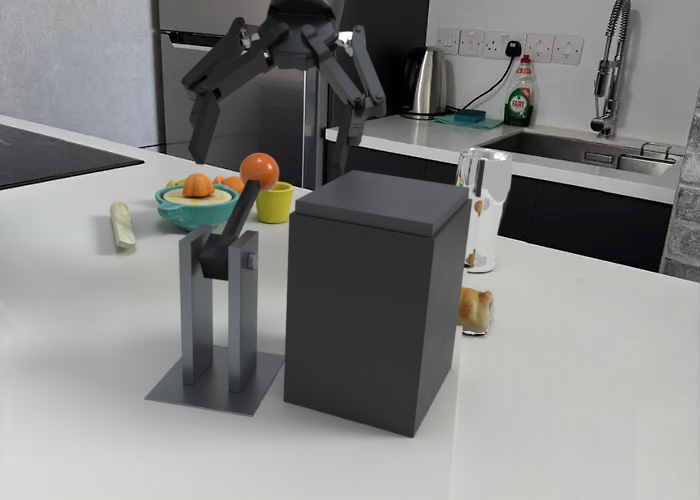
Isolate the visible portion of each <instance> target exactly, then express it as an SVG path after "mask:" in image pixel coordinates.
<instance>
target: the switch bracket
mask: <svg viewBox="0 0 700 500" xmlns="http://www.w3.org/2000/svg"><path fill="white" fill-rule="evenodd" d="M210 233H213V229H212V226H210V225H200V226H198V227H197V228H196V229H194V230H193V231H189V233H188V234H185V235H184V237H182V238H180V239H179V240H178V262H179V263H178V265H179V266H178V267H179V302H180V336H181V337H180V338H181V339H180V340H181V356H180V357H179V358H178V360H177V361H176V362H175V363H174V364H173V365H172V367H171V368H169V370H168V371H167V372H166V374H164V376H163V377H162V378H161V379H160V380H159V381H158V382H157V383H156V384H155V386H154V387H153V388H152V389H151V390H150V391H149V393H148V394H147V395H146V396H145V397H144V400H145V401H151V402H157V403H163V404H170V405H175V406H182V407H186V408H187V407H188V408H193V409H194V408H195V409H199V410H204V411H205V410H206V411H213V412H218V413H224V414H229V415H235V416H241V417H248V418H253V417H254V415H255V413H256V412H257V410H258V409H259V406H260V405H261V403H262V401H263V400H264V398H265V396H266V395H267V393H268V391H269V389H270V388H271V386H272V385H273V382H274V380H275V379H276V378H277V376H278V374H279V372H280V370H281V368H282V367H283V365H284V364H285V354H278V353H271V352H270V353H269V352H265V351H258V300H259V299H258V297H259V292H258V291H259V287H258V286H259V235H260V234H259V231H258V230H251V229H247V230H245V231H244V232H243V233H242V234H240V235H239V237H238V239H237V240H236V241H235V242H233V243H232V244H231V245H230V246H229V247H228V281H227V282H228V284H227V285H228V287H227V288H228V289H227V292H228V295H227V298H228V299H227V301H228V303H227V304H228V305H227V307H228V308H227V311H228V312H227V315H228V319H227V320H228V321H227V324H228V327H227V329H228V334H227V335H228V336H227V337H228V345H227V346H226V345H225V346H224V345H217V344H216V345H215V344H214V309H213V308H214V302H213V301H214V300H213V298H214V297H213V296H214V291H213V290H214V288H213V279H208V278H204V277H203V273H202V269H201V265H200V262H199V258H198V257H199V255H200V253H201V251H202V249H203V247H204V245H205V243H206V241H207V239H208V237H209V235H210Z"/></svg>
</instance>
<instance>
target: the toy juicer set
mask: <svg viewBox="0 0 700 500" xmlns="http://www.w3.org/2000/svg"><path fill="white" fill-rule="evenodd" d="M243 188H244V184H243V183H242V181H241V178H240V176H235V175H234V176H228V177H226V178H225V177H224V176H222V175H219V174H218V175H217V176H216V177H215V178H214V179H213V181H212V180H211V178H210V177H208V176H207V175H206V174H203V173H198V172H197V173H196V172H195V173H192V174H190V175H187V177H186V178H183V179H180V180H177V181H174V180H173V179H170V180H169V181H168V182H167V184H166V185H165V187H164V188H161V189H159V190H157V191H156V192H155V194H154V198H155V200H156V201H157V203H158V206H157V211H158V214H159V216H160V217H161V218H162V219H165V220H169V221H170V222H172V223H174V224H175V225H177V227H178V228H179V229H181V230H184V231H188V232H191V231H193V230H194V229H196V228H197V227H198V226H200V225H210V226H212V230H214V229H216V228H217V227H218V226H219V225H220V224H223V223H224V222H225V221H226V220H228V219H229V217H230V215H231V213H232V211H233V209H234V207H235V205H236V203H237V201H238V199H239V197H240V195H241V193H242V191H243ZM294 190H295V187H294V186H293V184H290V183H288V182H283V181H277V183H276V185H275V186H274V187H273V188H272V189H270V190H269V191H266V192H262V193H258V195H257V198H256V200H255V208H256V214H257V218H258V220H259V221H261V222H263V223H267V224H268V223H269V224H280V223H285V222H286V221H288V220H289V214H290V211H291V205H292V200H293V194H294ZM109 213H110V219H111V224H112V229H113V234H114V241H115V245H116V247H117V248H132V247H134V246H135V245H136V244H137V240H136V235H135V233H134V229H133V223H132V222H133V221H132V218H131V214H130V211H129V207H128V205H127V203H125V202H124V201H122V200H115V201H114V202H112V203H111V204H110V207H109Z"/></svg>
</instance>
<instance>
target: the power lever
mask: <svg viewBox="0 0 700 500" xmlns="http://www.w3.org/2000/svg"><path fill="white" fill-rule="evenodd" d="M239 167H240V168H239V177H240V178H241V181H242V183H243V184H244V188H243V191H242V193H241V195H240V197H239V199H238V201H237V203H236V205H235V207H234V209H233V211H232V213H231V214H230V216H229V217H228V218H227V221H226V224H225V226H224V228H223V230H222V232H221V233H213V232H212V233H210V235H209V237H208V239H207V241H206V243H205V245H204V247H203V249H202V251H201V253H200V255H199V257H198V258H199V262H200V265H201V269H202V273H203V277H204V278H208V279H212V280H217V281H224V282H228V247H229V246H230V245H231V244H232V243H233V242H235V241H236V240H237V239H238V238H239V237H240V236H241V233H242V230H243V228H244V226H245V223H246V221H247V219H248V217H249V215H250V213H251V211H252V208H253V206H254V205H255V203H256V201H255V200H256V198H257V195H258V193H262V192H266V191H269V190H270V189H272V188H273V187H274V186H275V185H276V183H277V182H279V179H280V167H279V165H278V163H277V161H276V160H275V159H274V158H273V157H272V156H271V155H269V154H267V153H263V152H255V153H251V154H250V155H248V156H246V157H245V158H244V159H243V161H242V162H241V164H240V166H239Z"/></svg>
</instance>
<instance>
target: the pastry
mask: <svg viewBox="0 0 700 500" xmlns="http://www.w3.org/2000/svg"><path fill="white" fill-rule="evenodd" d="M494 307H495V306H494V293H493V292H492V291H491V290H490V289H489V290H488V289H487V290H485V291H484V292H483V291H480V290H477V289H474V288H472V287H465V286H462V287H461V294H460V302H459V310H458V318H457V325H460V326H462V330H463V331H471V332H475V333H482V332H486V330H487V329H488V328H489V329H490V325H489V323H490V321H491V320H492V319H493V318H494V317H495V308H494ZM490 324H491V323H490ZM488 326H489V327H488ZM486 333H487V332H486Z"/></svg>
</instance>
